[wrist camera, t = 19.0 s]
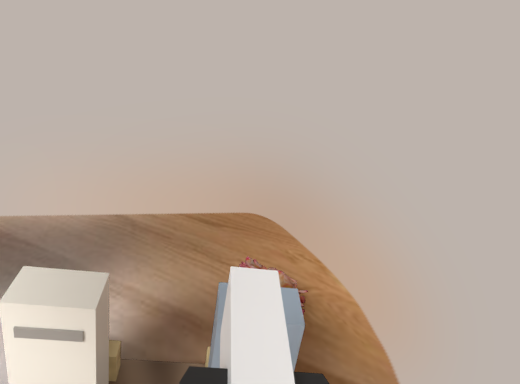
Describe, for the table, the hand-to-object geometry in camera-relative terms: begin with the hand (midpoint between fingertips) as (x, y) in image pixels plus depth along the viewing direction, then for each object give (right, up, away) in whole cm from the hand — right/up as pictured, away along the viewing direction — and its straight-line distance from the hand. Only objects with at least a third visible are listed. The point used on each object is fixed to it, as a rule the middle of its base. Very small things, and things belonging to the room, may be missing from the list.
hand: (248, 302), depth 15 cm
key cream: (-15, -15, +23) cm, 32 cm away
